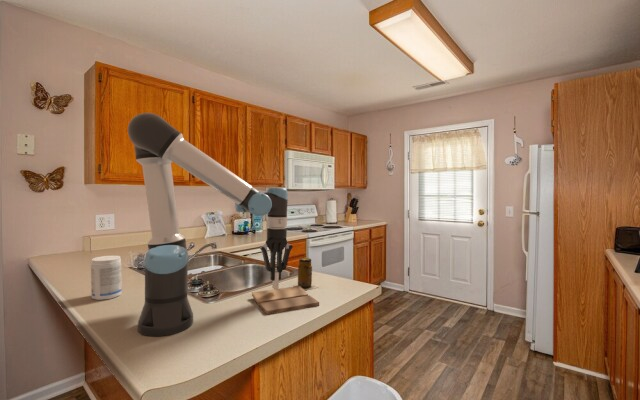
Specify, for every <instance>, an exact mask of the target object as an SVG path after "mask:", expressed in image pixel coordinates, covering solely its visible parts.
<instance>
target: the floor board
mask: <svg viewBox="0 0 640 400" xmlns="http://www.w3.org/2000/svg"><path fill="white" fill-rule="evenodd" d="M318 306H320V301H319V300H317V299H316V298H314V297H313V296H311V295H309V294H308V296H302V297H296V298H289V299H283V300H277V301H270V302H264V303H259V305H258V307H259V308H260V309H261V310H262V311H263V312H264V313H265V314H266V315H273V314H277V313H284V312H289V311H294V310H295V311H296V310H300V309H305V308H306V309H307V308H312V307H313V308H314V307H318Z"/></svg>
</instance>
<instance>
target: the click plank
mask: <svg viewBox="0 0 640 400" xmlns="http://www.w3.org/2000/svg"><path fill="white" fill-rule="evenodd" d="M302 296H309V294H308V292H307V291H306V290H303V289H302V288H301V287H300V286H288V287H282V288H278V289H276V290H275V289H273V288H272V289H269V290H268V289H267V290H260V291H254V292H252V293H251V297H252V298H253V299H254V301H255V303H256V305H258V306H259V303H264V302H270V301H277V300H283V299H289V298H296V297H302Z"/></svg>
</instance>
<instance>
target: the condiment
mask: <svg viewBox="0 0 640 400" xmlns="http://www.w3.org/2000/svg"><path fill="white" fill-rule="evenodd" d="M298 260H299V261H298V265H297V266H298V267H297V284H293V287H295V286H300V287H301V288H302V289H303V290H304V291H309V290H314V289H317V288H319V287H318V286H316V285H314V284H312V283H313V282H312V281H313V279H312V278H313V265H312V259H311V258H308V257H300V258H299V259H298Z"/></svg>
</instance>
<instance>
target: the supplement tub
mask: <svg viewBox="0 0 640 400" xmlns="http://www.w3.org/2000/svg"><path fill="white" fill-rule="evenodd" d="M121 258H122V257H121V256H120V255H102V256H97V257H94V258H92V259H91V260H90V283H91V284H90V286H91V298H92V299H93V300H97V301H104V300H110V299H113V298H116V297H118V296H120V295H122V293H123V291H122V290H123V289H122V288H123V285H122V284H123V283H122V281H123V280H122V279H123V278H122V259H121Z"/></svg>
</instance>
